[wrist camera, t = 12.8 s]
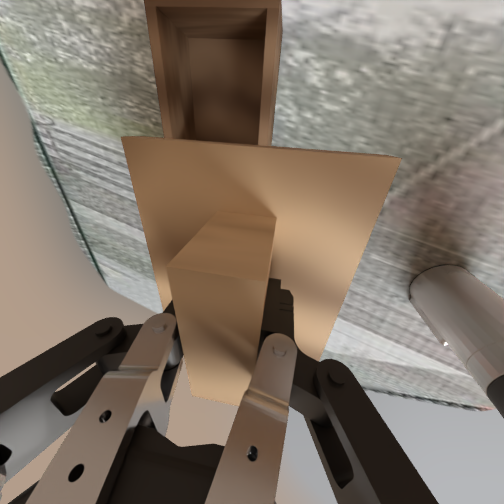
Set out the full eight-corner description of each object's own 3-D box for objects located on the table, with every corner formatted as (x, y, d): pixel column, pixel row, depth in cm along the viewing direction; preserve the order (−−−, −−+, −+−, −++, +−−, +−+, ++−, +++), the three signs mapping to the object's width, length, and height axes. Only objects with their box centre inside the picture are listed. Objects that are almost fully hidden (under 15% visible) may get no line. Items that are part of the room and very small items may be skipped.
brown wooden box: (266, 193, 33) (256, 224, 22) (191, 185, 34) (146, 211, 23) (282, 31, 23) (279, -60, 12) (176, 29, 24) (85, -56, 13)
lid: (315, 334, 17) (329, 452, 11) (182, 310, 18) (126, 403, 12) (377, 153, 10) (535, 188, 4) (152, 135, 11) (-28, 139, 5)
